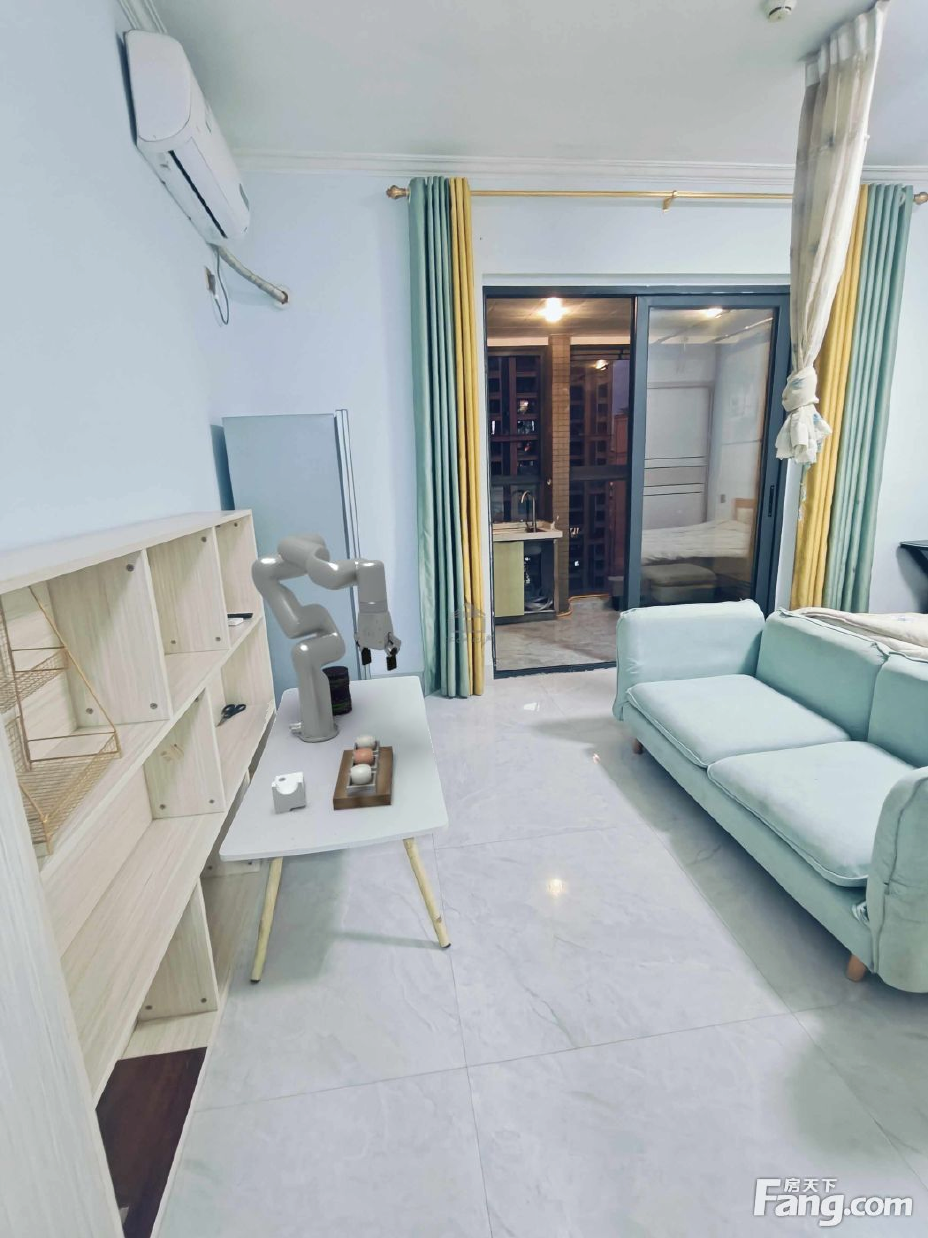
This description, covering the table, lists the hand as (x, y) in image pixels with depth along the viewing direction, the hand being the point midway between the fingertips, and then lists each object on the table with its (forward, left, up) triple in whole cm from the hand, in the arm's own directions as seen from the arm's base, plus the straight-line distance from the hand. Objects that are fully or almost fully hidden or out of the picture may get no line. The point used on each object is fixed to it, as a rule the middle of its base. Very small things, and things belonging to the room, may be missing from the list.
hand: (379, 666), depth 159 cm
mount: (-5, -11, -28) cm, 31 cm away
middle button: (-5, -11, -23) cm, 26 cm away
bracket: (-24, -16, -29) cm, 41 cm away
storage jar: (-18, +39, -29) cm, 52 cm away
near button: (-5, -20, -23) cm, 31 cm away
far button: (-5, -2, -23) cm, 24 cm away
